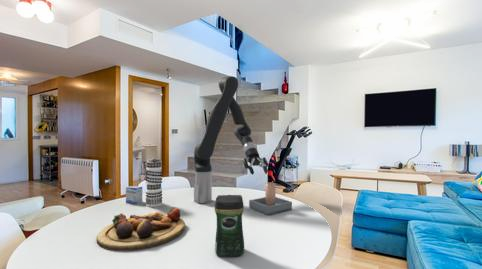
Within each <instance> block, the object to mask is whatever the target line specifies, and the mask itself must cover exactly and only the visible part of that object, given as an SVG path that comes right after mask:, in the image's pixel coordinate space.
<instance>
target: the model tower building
mask: <svg viewBox="0 0 482 269" xmlns="http://www.w3.org/2000/svg"><path fill="white" fill-rule="evenodd" d="M162 170H163V168H162V160H161V159H160V158H158V157H157V158H156V157H155V158H149V159H148V160H147V161H146V168H145V170H144V174H145V176H144V177H145V181H146V182H145V184H146V190H145V191H146V192H145V194H146V195H145V206H146V207H152V208H153V207H159V206H161V205H163V197H162V196H163V189H162V188H163V187H162V183H163V178H162V177H163V172H164V171H162Z"/></svg>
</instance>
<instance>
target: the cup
mask: <svg viewBox="0 0 482 269" xmlns="http://www.w3.org/2000/svg"><path fill="white" fill-rule="evenodd" d="M276 184H277V183H275V182H265V187H264V188H265V189H264V190H265V205H266V206H272V205H276V197H277V196H276V194H277V193H276V186H277V185H276Z"/></svg>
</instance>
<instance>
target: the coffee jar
mask: <svg viewBox="0 0 482 269" xmlns="http://www.w3.org/2000/svg"><path fill="white" fill-rule="evenodd" d="M244 208H245V206H244V200H243V196H242V194H222V195H217V196H216V198H215V203H214V213H215V215H216V231H215V243H214V252H215V255H217V256H218V257H224V258H225V257H227V258H228V257H230V258H231V257H239V256H242V255H243V254H244V252H245V239H244V231H243V230H244V229H243V213H244V211H245V210H244Z"/></svg>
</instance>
